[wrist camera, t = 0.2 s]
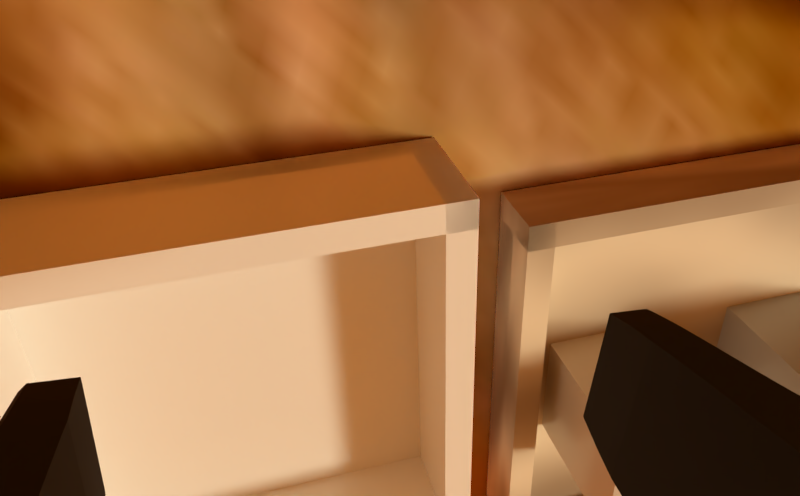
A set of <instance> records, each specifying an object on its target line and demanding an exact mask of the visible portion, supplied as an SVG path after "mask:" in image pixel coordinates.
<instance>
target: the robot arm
mask: <svg viewBox="0 0 800 496" xmlns="http://www.w3.org/2000/svg"><path fill="white" fill-rule="evenodd" d="M583 418H584V420H585V422H586V424H587V427H588V429H589V431H590V434H591V436H592V438H593V441H594V443H595V445H596V447H597V450H598V452H599V454H600V456H601V458H602V460H603V462H604V464H605V466H606V469H607V471H608V473H609V475H610V477H611V479H612V480H613V482H614V484H615V485H616V487H617V489H618V490H619V492H620V494H621V495H622V496H800V395H798V394H796V393H794V392H792V391H791V390H789V389H787V388H785V387H784V386H782V385H780V384H778V383H777V382H775V381H773V380H772V379H770V378H768V377H766V376H765V375H763V374H761V373H759V372H758V371H756V370H754V369H753V368H751V367H749V366H747V365H746V364H744V363H742V362H741V361H739V360H737V359H736V358H734V357H732V356H730V355H729V354H727V353H725V352H724V351H722V350H720V349H719V348H717V347H715V346H713V345H712V344H710V343H708V342H707V341H705V340H703V339H702V338H700V337H698V336H696V335H695V334H693V333H691V332H689V331H688V330H686V329H684V328H682V327H681V326H679V325H677V324H675V323H673V322H672V321H670V320H668V319H666V318H664V317H662V316H660V315H658V314H656V313H654V312H652V311H650V310H648V309H641V310H632V311H624V312H616V313H610V315H609V318H608V322H607V326H606V330H605V334H604V338H603V342H602V345H601V349H600V353H599V357H598V361H597V365H596V369H595V372H594V376H593V380H592V384H591V388H590V392H589V396H588V399H587V403H586V407H585V411H584V415H583ZM0 496H105V488H104V483H103V479H102V474H101V469H100V465H99V460H98V455H97V451H96V446H95V441H94V437H93V432H92V427H91V423H90V418H89V413H88V409H87V404H86V399H85V395H84V390H83V385H82V381H81V377H75V378H67V379H59V380H51V381H42V382H34V383H26V384H25V385H24V386H23V387H22V388H21V389H20V390H19V391H18V392H17V394H16V396H15V397H14V399H13V401H12V402H11V404H10V405H9V407H8V409H7V410H6V412H5V413H4V415H3V417H2V418H1V420H0Z"/></svg>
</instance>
